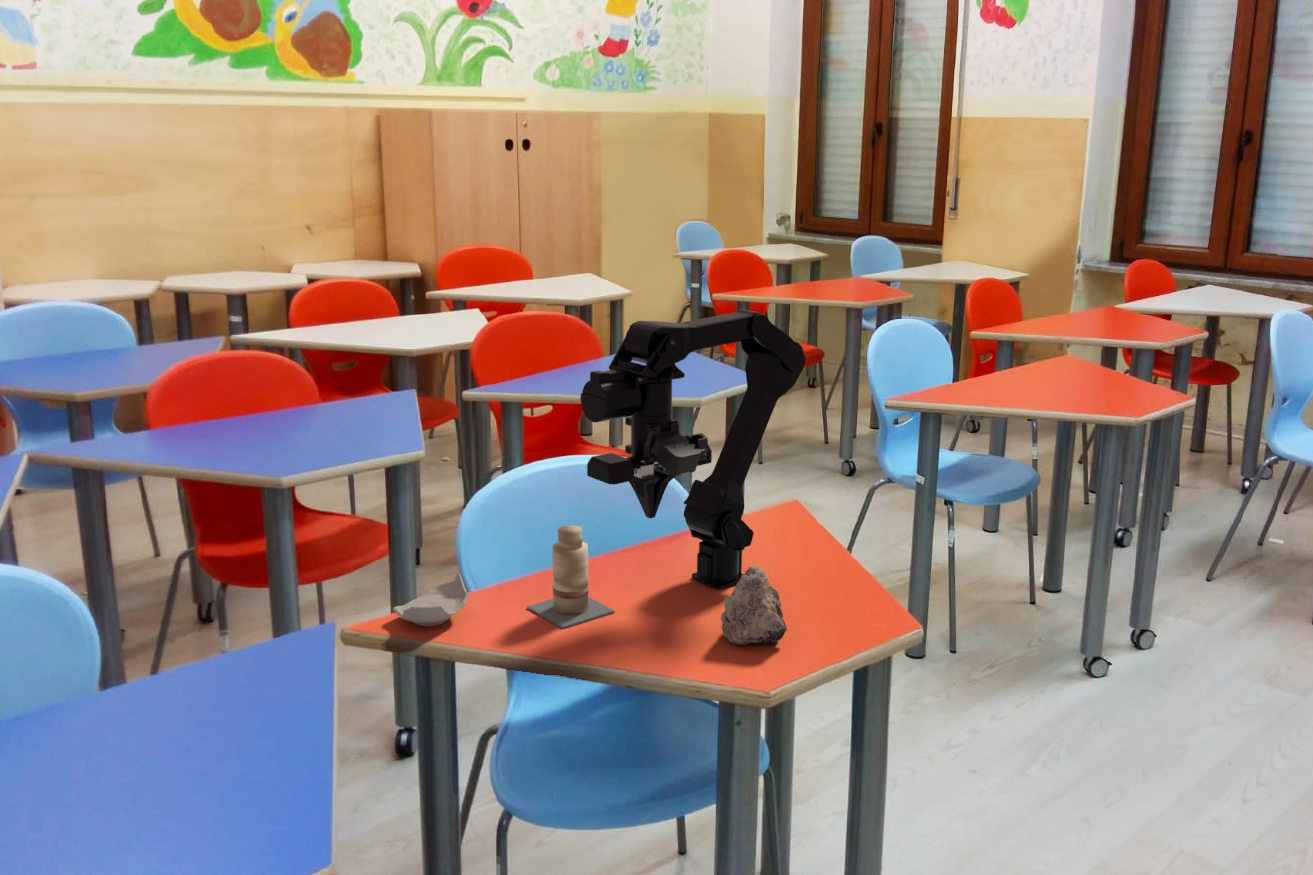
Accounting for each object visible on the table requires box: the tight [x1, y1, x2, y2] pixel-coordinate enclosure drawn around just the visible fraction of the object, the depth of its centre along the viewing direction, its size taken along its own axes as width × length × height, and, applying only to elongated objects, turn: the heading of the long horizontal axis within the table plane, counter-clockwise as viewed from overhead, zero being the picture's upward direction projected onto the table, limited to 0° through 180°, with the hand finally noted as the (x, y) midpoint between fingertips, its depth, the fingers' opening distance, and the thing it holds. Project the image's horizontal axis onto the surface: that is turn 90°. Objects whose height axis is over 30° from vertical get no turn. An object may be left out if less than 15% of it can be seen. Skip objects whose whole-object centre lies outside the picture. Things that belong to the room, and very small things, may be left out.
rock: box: [720, 565, 788, 646], centre depth 151 cm, size 8×11×9 cm
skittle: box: [552, 524, 590, 615], centre depth 158 cm, size 5×5×12 cm
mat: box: [526, 596, 615, 630], centre depth 160 cm, size 9×9×1 cm
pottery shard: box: [392, 572, 469, 627], centre depth 155 cm, size 10×11×5 cm
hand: (650, 517), depth 160 cm, fingers closed
